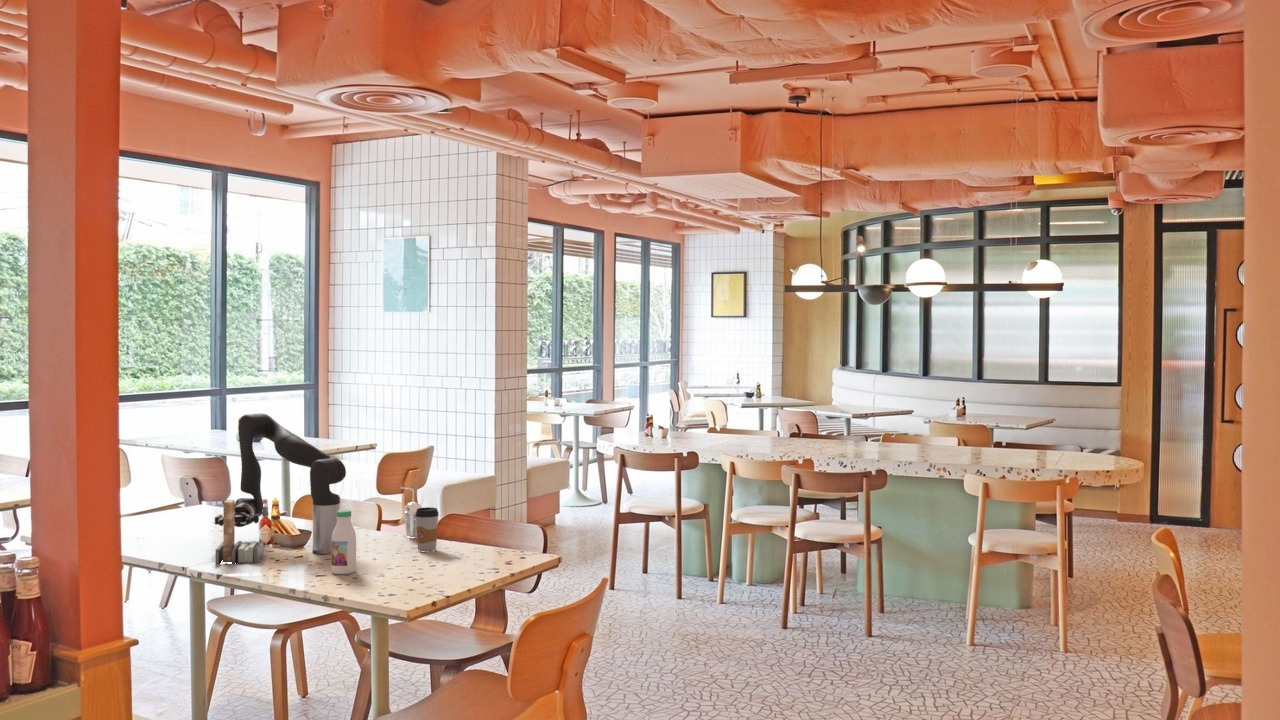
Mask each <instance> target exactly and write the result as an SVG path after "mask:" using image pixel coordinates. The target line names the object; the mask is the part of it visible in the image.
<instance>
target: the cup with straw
mask: <svg viewBox="0 0 1280 720" xmlns="http://www.w3.org/2000/svg"><path fill="white" fill-rule="evenodd" d="M398 489H399V490H409V491H411V496H412V497H411V502H410V501H409V502H408V503H406V504H405V505H404V507H403V509H402V510H401V514H403V520H404V524H405V525H404V527H405V534H406V537H407V536H410V537H415V538H417V533H416V516H415V515H416V512H417V509H418V508H423V507H422V506H421V504H420V503H418V502H417V501H415V489H414V488H413V487H405V486H399V488H398ZM409 540H415V539H414V538H409Z"/></svg>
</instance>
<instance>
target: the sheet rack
mask: <svg viewBox="0 0 1280 720" xmlns="http://www.w3.org/2000/svg"><path fill="white" fill-rule="evenodd" d="M242 544H243V542H242V540H238V541H237V542H236V544H235V546H234V547H233V548H232V564H231V565H246V564H247V565H250V564H251V565H252V564H258V563H259V562H260V560H261V559H262V557H263V556H264V539H260V540H259V542H258V544H257V545H256V547H255V548H254V562H238V549H239V547H240V546H241V545H242ZM222 560H223V541H222V542H221V543H220V544H219V545H218V546H217V548H215V565H216V564H220V563H221V561H222ZM235 563H236V564H235Z"/></svg>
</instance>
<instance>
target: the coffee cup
mask: <svg viewBox="0 0 1280 720" xmlns="http://www.w3.org/2000/svg"><path fill="white" fill-rule="evenodd" d="M439 515H440V514H439V511H438V508H437V507H427V506H426V507H422V508H418V509H417V512H416V515H415V516H416V533H417V539H416V542H417V543H416V544H417V550H418V551H419V550H420V551H433V550H435V551H436V549H437V540H438V538H437V537H438V523H439ZM433 552H434V551H433Z"/></svg>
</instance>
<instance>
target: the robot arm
mask: <svg viewBox="0 0 1280 720" xmlns="http://www.w3.org/2000/svg"><path fill="white" fill-rule="evenodd" d="M238 438H239V439H238V441H239V451H240V459H241V472H240V473H241V475H240V477H241V478H240V491H241V492H242V493H245V494H250V495H251V496H252V497H251V498H250V497H249V498H247V497H239V498H237V499H235V527H237V528H242V527H245V526H249V525H251V524H253V523H254V524H258V523H259V521H260V517H261V516H262V515H263V514H264V511H263V512H262V510H263V504H264V501H263V496H262V491H261V484H262V483H261V481H262V469H261V465H260V462H259V460H258V458H257V457H256V455H255V452H254V447H253V443H254V439H259V438H260V439H261V438H264V439H268V440H269V441H271V442H273V444H274V449H275V451H276V453H277V454H278V455H279V456H280V457H282V458H283V459H285V460H286V461H288V462H290V463H292V464H295V465H299V466H301V467H302V466H303V467H307V468H310V470H309V480H310V482H309V484H310V496H311V498H312V553H313V554H317V555H329V554H331V548H332V534H333V531H334V529H335V527H336V524H337V511H340V510H341V497H340V495H339V494H337V493H335V492H332V491H331V490H330V485H334V484H339V483H340V482H342V481H344V479H345V478H346V475H347V469H346V466H345V464H344V463H343V461H342V460H340V459H339V458H337V457H335V456H333V455H330V454H329V453H326V452H324V451H322V450H320V449H319V448H317V447H315V446H314V445H312V444H311V443H309V442H308V441H306V440H304V439H303V438H301V437H300V436H298V435H297V434H294V433H292V431H290V430H288V429H287V428H285V427H283V426H282V425H281V424H279V423H278V422H277V421H276V420H275V419H273V418H272V417H271V416H270V415H268V414H266V413H262V412H261V413H248V414H243V415H242V416H241V417H240V419H239V421H238ZM223 516H224V514H223V515H222V514H217V515H216V516H215V517H214V525H216V526H217V525H218V526H220V527H222V526H223Z"/></svg>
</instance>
